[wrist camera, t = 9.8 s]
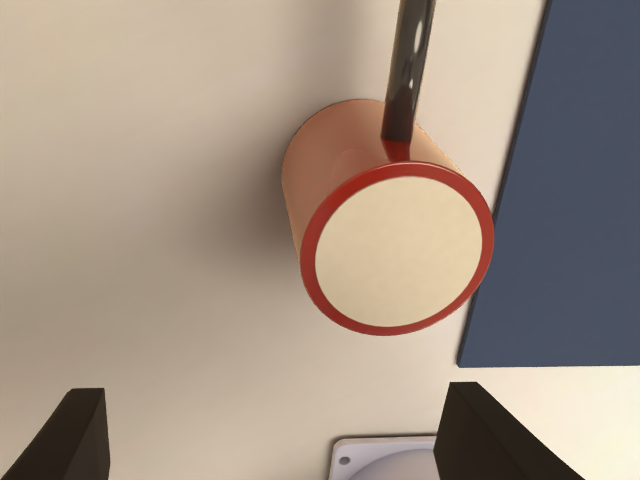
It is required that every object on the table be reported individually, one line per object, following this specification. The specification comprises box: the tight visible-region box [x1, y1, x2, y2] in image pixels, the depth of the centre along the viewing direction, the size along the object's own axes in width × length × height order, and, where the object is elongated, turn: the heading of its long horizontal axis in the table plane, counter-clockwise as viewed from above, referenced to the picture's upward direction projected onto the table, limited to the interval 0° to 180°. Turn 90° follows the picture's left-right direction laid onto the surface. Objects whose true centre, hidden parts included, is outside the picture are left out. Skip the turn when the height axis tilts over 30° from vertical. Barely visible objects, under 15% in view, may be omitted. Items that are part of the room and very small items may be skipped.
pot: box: [282, 0, 494, 336], centre depth 18 cm, size 11×5×6 cm, turn 174°
